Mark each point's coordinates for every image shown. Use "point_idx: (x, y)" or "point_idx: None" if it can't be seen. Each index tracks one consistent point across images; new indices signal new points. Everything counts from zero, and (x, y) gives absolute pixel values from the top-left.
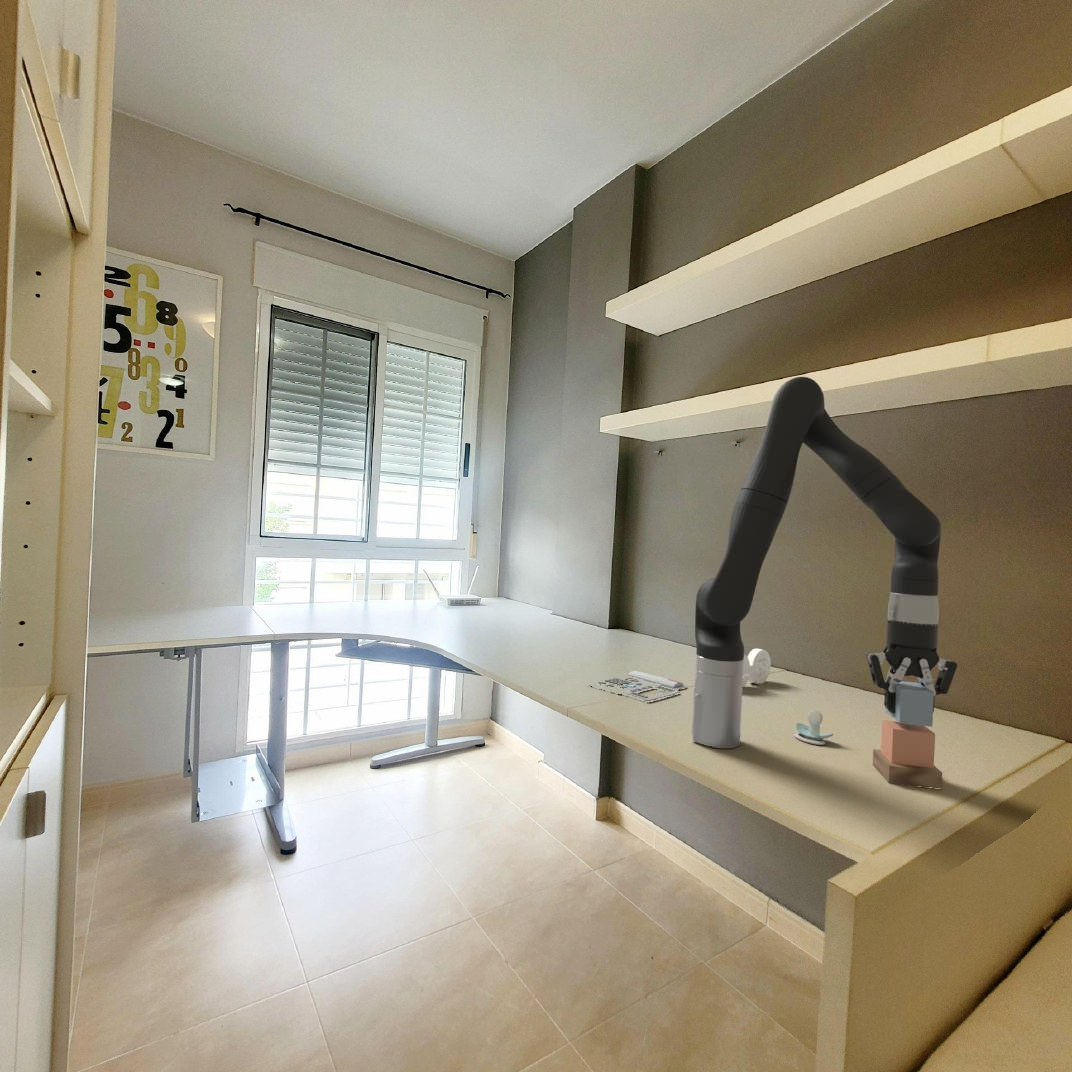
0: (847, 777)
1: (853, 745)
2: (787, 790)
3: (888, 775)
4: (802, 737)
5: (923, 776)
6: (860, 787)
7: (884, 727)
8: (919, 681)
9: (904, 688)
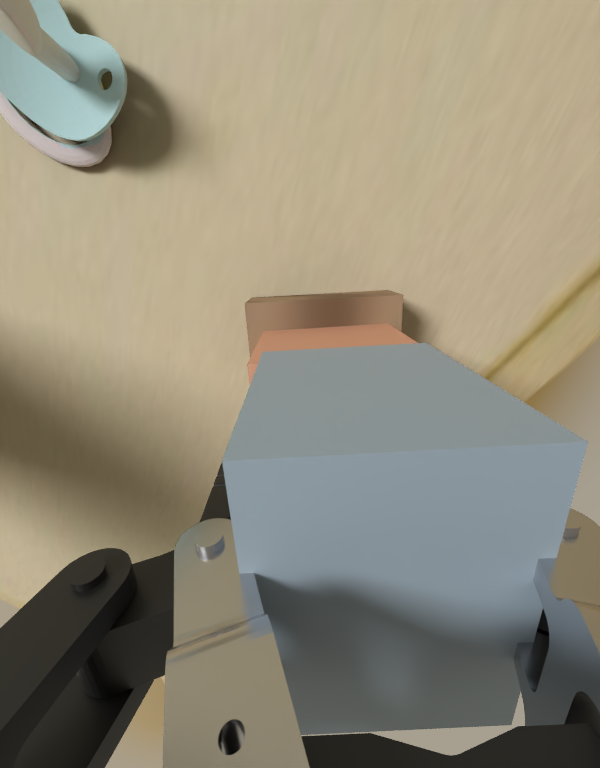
0: (167, 425)
1: (224, 84)
2: (40, 543)
3: None
4: (18, 118)
5: None
6: (190, 472)
7: None
8: (556, 600)
9: (298, 716)
